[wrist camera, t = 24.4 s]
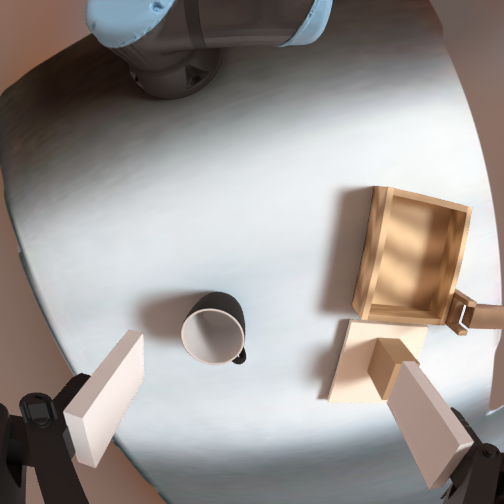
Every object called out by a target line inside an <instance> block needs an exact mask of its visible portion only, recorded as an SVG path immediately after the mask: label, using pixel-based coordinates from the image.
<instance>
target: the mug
mask: <svg viewBox="0 0 504 504" xmlns="http://www.w3.org/2000/svg"><path fill="white" fill-rule="evenodd" d="M181 340H182V343H183V346H184V348H185V349H186V351H187V352H188V353H189V354H190V355H191V356H192V357H193V358H195V359H196V360H198V361H200V362H202V363H205V364H210V365H221V364H225V363H228V362H230V361H232V362H234V363H235V364H242V363H244V362H245V360H246V352H245V349H244V347H243V346H244V342H245V321H244V315H243V311H242V308H241V306H240V304H239V303H238V301H237V300H236V299H235V298H234V297H232V296H231V295H229V294H226V293H222V292H215V293H211V294H208V295H207V296H205V297H203V298H202V299H201V300H200V301H199V302H198V303H197V304H196V305H195V306H194V307H193V308H192V310H191V311H190V312H189V314H188V315H187V317H186V319H185V320H184V323H183V325H182V328H181ZM238 355H239V357H238Z"/></svg>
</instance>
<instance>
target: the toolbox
mask: <svg viewBox="0 0 504 504" xmlns="http://www.w3.org/2000/svg"><path fill="white" fill-rule="evenodd" d="M471 213H472V207H468V206H464V205H461V204H457V203H453V202H449V201H445V200H441V199H438V198H434V197H429V196H425V195H421V194H417V193H413V192H408V191H404V190H400V189H395V188H390V187H382V186H374V190H373V197H372V203H371V210H370V216H369V222H368V227H367V233H366V238H365V244H364V249H363V254H362V259H361V264H360V269H359V274H358V278H357V283H356V288H355V292H354V296H353V301H352V307H353V308H354V310H355V311H356V312H357V314H358V315H359V317H360V318H361V319H362V320H374V321H386V322H400V323H415V324H432V325H444V324H446V325H447V326H448V327H449V328H451V329H452V330H453V331H454V332H455V333H456V334H457V335H466V334H467V332H468V331H467V330H466V329H465V328H464V327H462V326H461V325H460V324H459V320H460V316H461V313H462V310H463V307H464V304H465V305H466V306H467V307H476V304H477V302H475V301H474V300H472V299H471V298H469V297H468V296H466V295H465V294H463V293H461V292H460V291H458V290H457V289H455V287H456V284H457V280H458V276H459V272H460V268H461V264H462V259H463V255H464V250H465V245H466V241H467V235H468V230H469V225H470V219H471Z"/></svg>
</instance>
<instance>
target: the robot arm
mask: <svg viewBox="0 0 504 504" xmlns="http://www.w3.org/2000/svg"><path fill="white" fill-rule="evenodd" d="M331 7H332V0H87V3H86V8H85V20H86V24H87V26H88V28H89V30H90V31H91V32H92V33H93V34H94V35H95V36H96V38H97V39H98V41H99V42H100V43H102V45H104V46H106V47H107V48H108V49H110V50H111V51H113V52H114V53H115V54H117V55H118V56H119V57H121V58H122V59H123V60H125V61H126V62H127V63H128V66H129V71H130V74H131V76H132V78H133V80H134V81H135V83H136V84H137V85H138V86H139V87H140V88H141V89H143V90H144V91H145V92H147V93H148V94H150V95H152V96H154V97H158V98H162V99H177V98H182V97H186V96H189V95H191V94H193V93H195V92H197V91H199V90H200V89H202V88H203V87H204V86H205V85H207V84H208V83H209V82H210V81H211V80H212V78H213V77H214V76H215V74H216V73H217V71H218V69H219V67H220V64H221V60H222V47H241V46H276V47H284V46H287V45H306V44H310V43H312V42H314V41H315V40H316V39H317V38H319V36H320V35H321V34H322V32H323V30H324V28H325V26H326V24H327V21H328V18H329V15H330V11H331ZM143 380H144V357H143V333H141V332H136V331H132V330H128V331H127V333H126V334H125V335H124V336H123V337H122V339H121V340H120V341H119V342H118V343H117V345H116V346H115V347H114V348H113V350H112V351H111V352H110V353H109V354H108V356H107V357H106V358H105V359H104V361H103V362H102V363H101V364H100V366H99V367H98V368H97V369H96V371H95V372H94V373H93V374H92V376H90V375H86V374H83V373H80V374H78V375H76V376H75V377H73V378H71V380H70V381H69V382H68V383H67V384H66V386H64V388H63V389H62V390H61V392H59V394H58V395H57V396H56V397H55V398H54V399H53V400H52V399H51V398H50V397H49V396H48V395H46V394H43V393H30V394H27V395H26V396H24V397H23V398H22V399H21V400H20V403H19V407H20V410H21V413H22V416H23V417H21V416H15V415H9V412H8V410H7V408H6V407H5V406H4V405H3V404H1V403H0V504H25V496H26V495H25V494H26V469H27V466H31V467H34V468H35V471H36V475H37V479H38V483H39V486H40V489H41V493H42V496H43V499H44V502H45V504H89V502H88V500H87V498H86V496H85V493H84V491H83V488H82V486H81V484H80V481H79V479H78V476H77V474H76V471H75V469H74V466H73V463H72V461H71V459H72V457H73V456H74V454H76V457H77V459H78V462H80V463H83V464H86V465H88V466H91V467H94V468H96V467H97V465H98V463H99V461H100V459H101V457H102V455H103V453H104V452H105V450H106V448H107V446H108V444H109V442H110V440H111V438H112V437H113V435H114V433H115V431H116V429H117V427H118V425H119V423H120V422H121V420H122V418H123V416H124V414H125V412H126V411H127V409H128V407H129V405H130V403H131V401H132V400H133V398H134V396H135V394H136V392H137V390H138V389H139V387H140V385H141V383H142V381H143ZM387 404H388V406H389V408H390V410H391V412H392V414H393V416H394V418H395V420H396V422H397V424H398V426H399V428H400V430H401V432H402V434H403V436H404V438H405V440H406V442H407V444H408V446H409V448H410V450H411V453H412V455H413V457H414V459H415V461H416V463H417V465H418V467H419V469H420V471H421V473H422V476H423V478H424V480H425V482H426V484H427V486H428V488H429V489H433V488H438V487H442V486H444V484H445V483H446V482H447V480H448V479H449V478H451V480H452V482H453V483H452V484H451V485H450V487H449V488H448V489H447V490H446V492H445V493H444V494H443V495H442V497H441V499H443V498H444V497H445V496H446V497H445V499H444V502H443V504H504V453H501V452H500V451H499V449H498V448H497V447H496V446H494V445H492V444H488V443H484V444H483V443H482V442H481V441H480V439H479V438H478V436H477V435H476V434H475V432H474V431H473V430H472V428H471V427H469V424H468V423H467V421H465V419H464V417H463V416H462V415H461V413H460V412H458V411H457V410H456V409H454V408H453V407H452V408H449V406H448V405H447V403H446V402H445V401H444V399H443V398H442V397H441V395H440V394H439V393H438V391H437V390H436V389H435V387H434V386H433V385H432V383H431V382H430V381H429V379H428V378H427V377H426V375H425V374H424V373H423V371H422V370H421V369H420V368H419V366H418V365H417V364H416V362H415V361H403V362H402V364H401V367H400V370H399V373H398V375H397V378H396V380H395V383H394V386H393V388H392V391H391V393H390V396H389V398H388V400H387Z"/></svg>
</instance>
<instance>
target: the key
mask: <svg viewBox="0 0 504 504" xmlns="http://www.w3.org/2000/svg"><path fill="white" fill-rule="evenodd" d="M461 323H463V324H464V325H465V326H466V327H468V328H475V329H504V306H498V305H486V304H476V307H467V306H466V309H465V313H464V316H463V319H462V322H461Z"/></svg>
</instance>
